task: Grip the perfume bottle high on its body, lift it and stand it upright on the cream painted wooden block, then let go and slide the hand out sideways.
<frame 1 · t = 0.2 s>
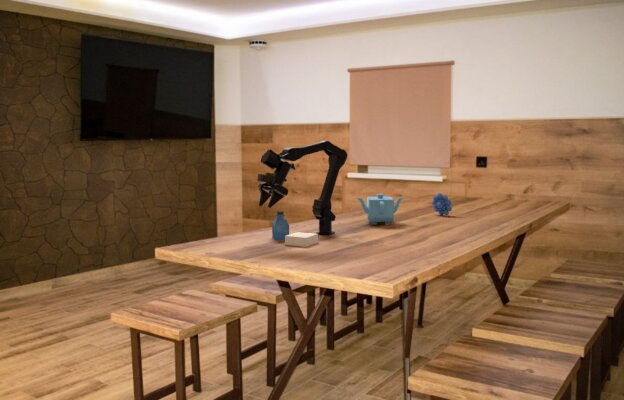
hand: (264, 206, 253), 15 cm above the table, tool tilted 30°, fingers open, 9 cm apart
teakettle: (380, 223, 301), on the table
cream block: (301, 244, 248), on the table
perfume bottle: (280, 239, 260), on the table
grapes: (440, 215, 323), on the table
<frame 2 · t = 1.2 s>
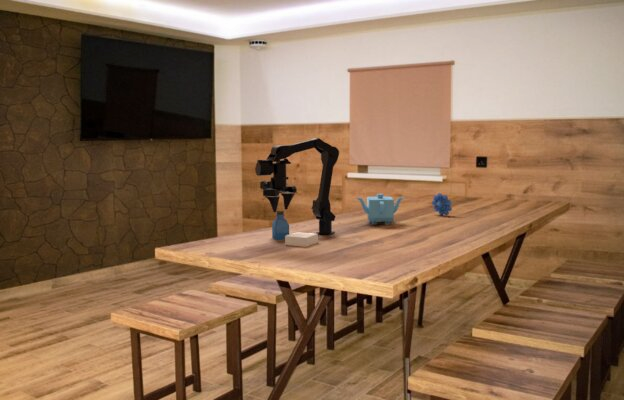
hand: (280, 210, 259), 12 cm above the table, tool pointing down, fingers open, 9 cm apart
nothing on the table moved.
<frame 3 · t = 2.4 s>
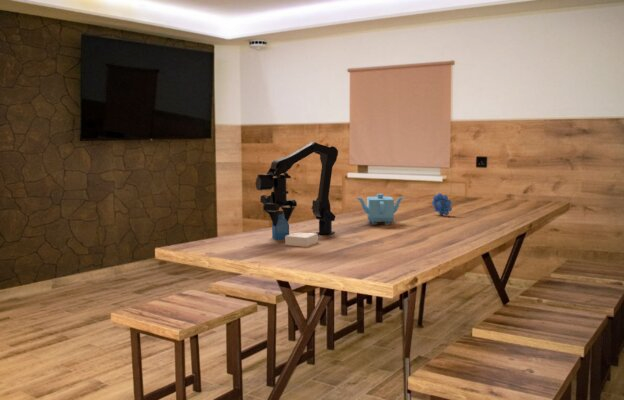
hand: (280, 224, 259), 6 cm above the table, tool pointing down, fingers closed on perfume bottle, 9 cm apart
perfume bottle: (280, 238, 260), on the table, touching gripper
everything else where it was.
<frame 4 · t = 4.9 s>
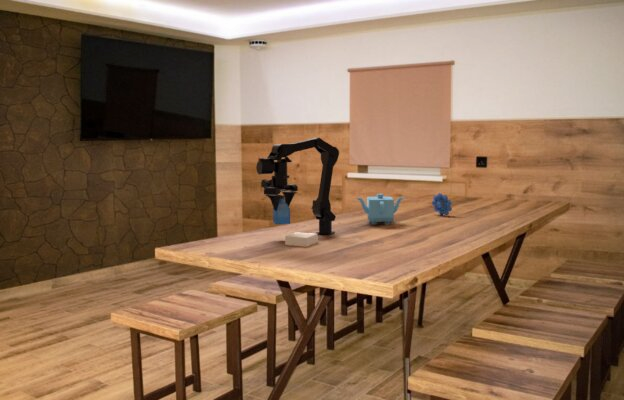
hand: (281, 209, 258), 13 cm above the table, tool pointing down, fingers closed on perfume bottle, 9 cm apart
perfume bottle: (281, 223, 259), point 7 cm above the table, touching gripper
everything else where it was.
when the fingers open (11 cm above the table, at t = 7.6 s): perfume bottle drops 1 cm, resting on cream block.
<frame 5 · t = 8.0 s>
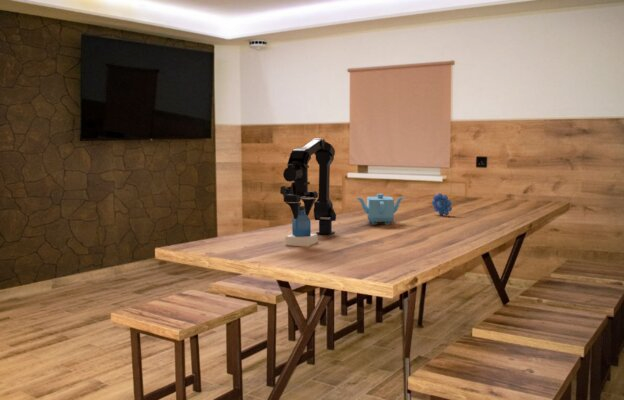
hand: (301, 217, 247), 11 cm above the table, tool pointing down, fingers open, 9 cm apart
cream block: (301, 244, 248), on the table, touching perfume bottle
perfume bottle: (301, 235, 248), point 3 cm above the table, touching cream block
everything else where it was.
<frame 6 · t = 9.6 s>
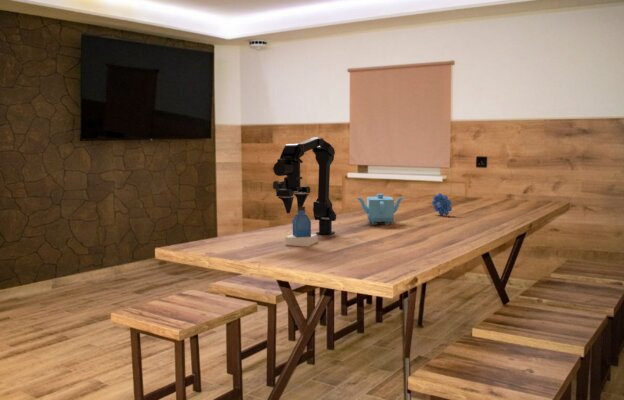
hand: (294, 211, 248), 13 cm above the table, tool pointing down, fingers open, 9 cm apart
nothing on the table moved.
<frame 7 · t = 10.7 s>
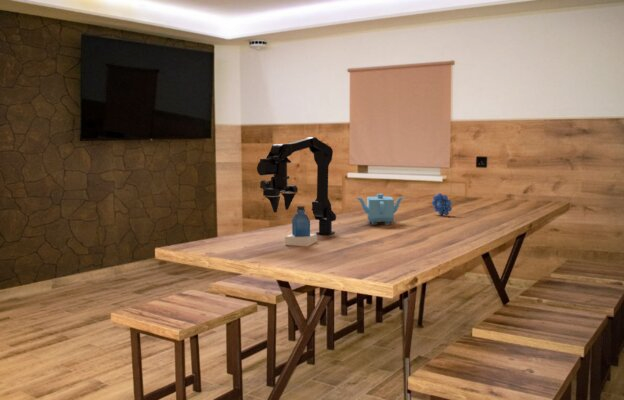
hand: (281, 211, 251), 13 cm above the table, tool pointing down, fingers open, 9 cm apart
nothing on the table moved.
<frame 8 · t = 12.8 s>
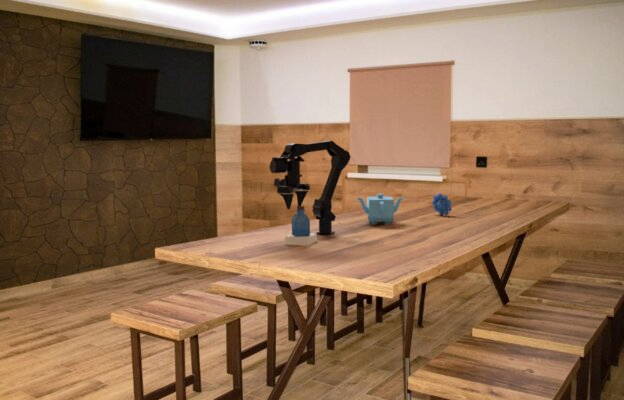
hand: (294, 207, 261), 13 cm above the table, tool pointing down, fingers open, 9 cm apart
at the end: perfume bottle 0.3 cm off-centre on the cream block, point 3.8 cm above the cream block's base; perfume bottle tilted 1°; the gripper is holding nothing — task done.
